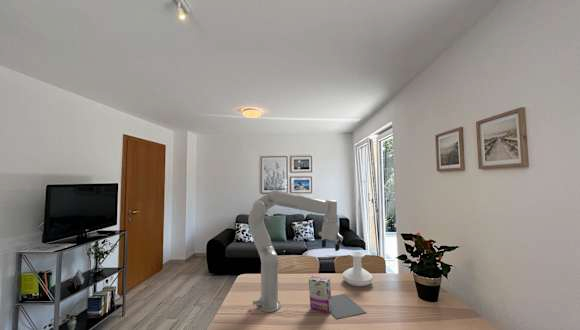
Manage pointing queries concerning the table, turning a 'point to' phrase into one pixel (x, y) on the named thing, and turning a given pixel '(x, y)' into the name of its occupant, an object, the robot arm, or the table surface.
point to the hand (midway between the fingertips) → (330, 248)
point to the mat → (344, 307)
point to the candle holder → (357, 272)
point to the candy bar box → (320, 294)
